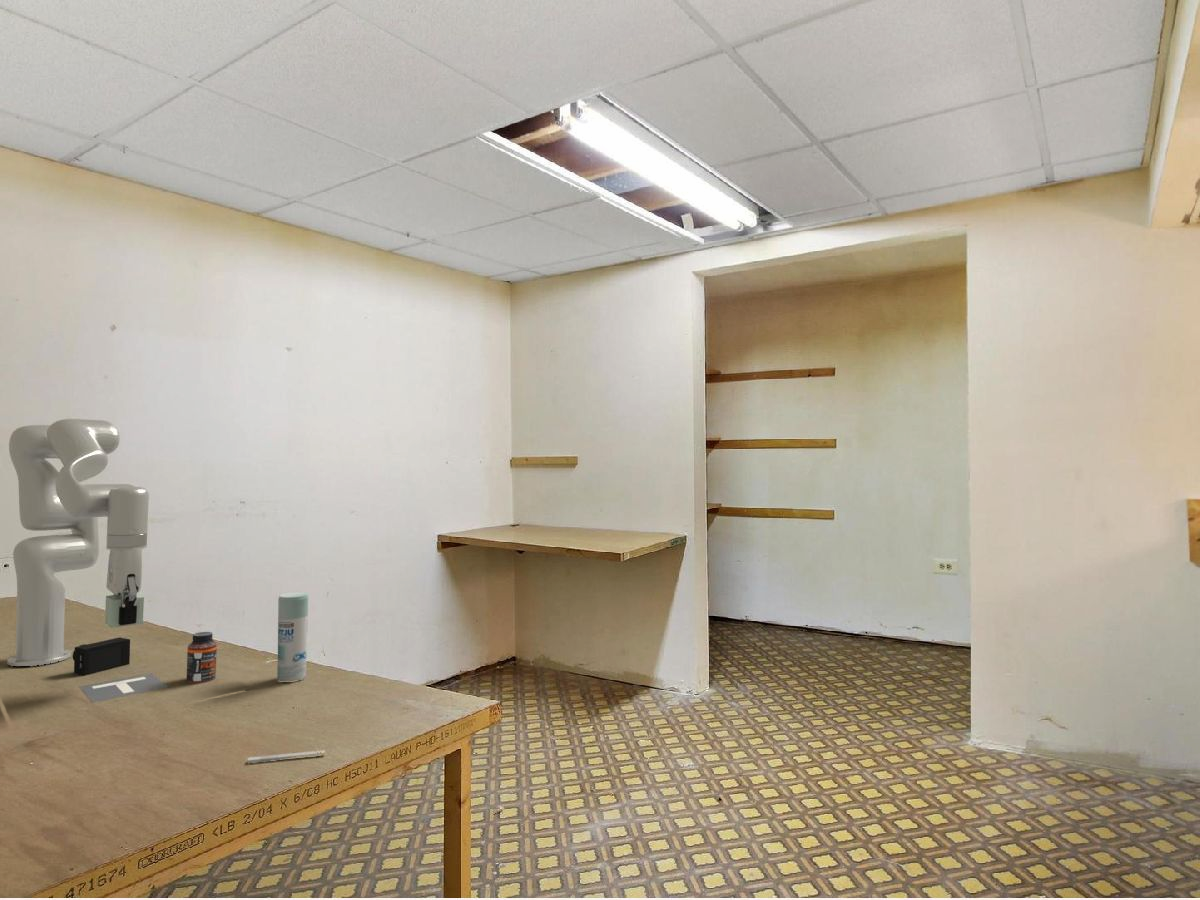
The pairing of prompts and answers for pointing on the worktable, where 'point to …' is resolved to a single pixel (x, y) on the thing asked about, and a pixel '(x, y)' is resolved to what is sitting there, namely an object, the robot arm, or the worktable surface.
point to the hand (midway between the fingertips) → (124, 620)
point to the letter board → (122, 687)
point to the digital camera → (101, 656)
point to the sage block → (113, 610)
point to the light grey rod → (280, 756)
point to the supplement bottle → (201, 658)
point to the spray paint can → (292, 636)
